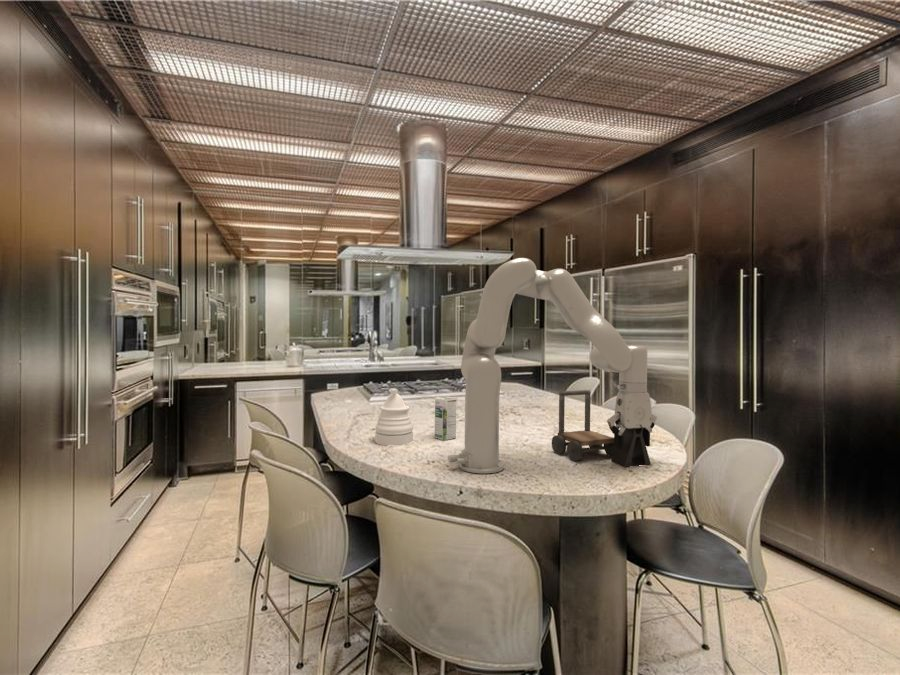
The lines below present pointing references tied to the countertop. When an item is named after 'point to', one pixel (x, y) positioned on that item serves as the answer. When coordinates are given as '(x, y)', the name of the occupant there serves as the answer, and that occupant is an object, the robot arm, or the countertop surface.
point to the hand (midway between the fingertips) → (631, 446)
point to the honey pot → (394, 422)
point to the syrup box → (445, 418)
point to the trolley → (579, 433)
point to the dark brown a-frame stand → (632, 449)
